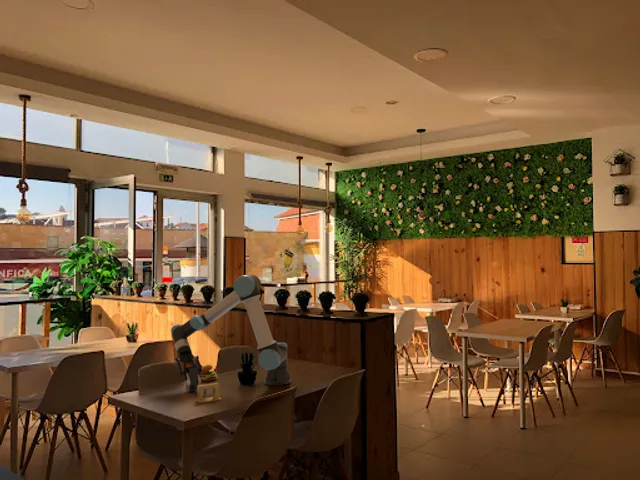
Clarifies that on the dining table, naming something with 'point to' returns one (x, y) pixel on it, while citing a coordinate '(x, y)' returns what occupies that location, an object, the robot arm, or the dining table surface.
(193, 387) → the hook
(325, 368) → the dining table surface
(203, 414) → the dining table surface
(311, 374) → the dining table surface
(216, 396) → the eye bracket
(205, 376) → the cheeseburger
